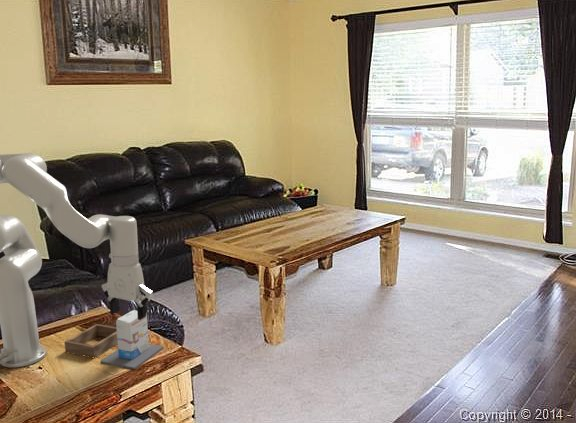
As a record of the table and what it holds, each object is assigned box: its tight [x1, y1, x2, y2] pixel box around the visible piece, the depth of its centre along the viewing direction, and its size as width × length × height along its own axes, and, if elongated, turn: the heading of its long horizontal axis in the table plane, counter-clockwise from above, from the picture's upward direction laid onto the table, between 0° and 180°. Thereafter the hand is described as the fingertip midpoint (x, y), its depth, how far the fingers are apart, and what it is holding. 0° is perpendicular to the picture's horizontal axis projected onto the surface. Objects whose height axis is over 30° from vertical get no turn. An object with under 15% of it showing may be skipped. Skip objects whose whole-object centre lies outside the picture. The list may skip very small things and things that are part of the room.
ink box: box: [115, 309, 150, 360], centre depth 164 cm, size 9×5×12 cm, turn 158°
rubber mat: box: [100, 343, 164, 370], centre depth 165 cm, size 14×12×1 cm
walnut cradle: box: [64, 323, 118, 359], centre depth 172 cm, size 14×11×4 cm
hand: (128, 315), depth 163 cm, fingers open, 9 cm apart
